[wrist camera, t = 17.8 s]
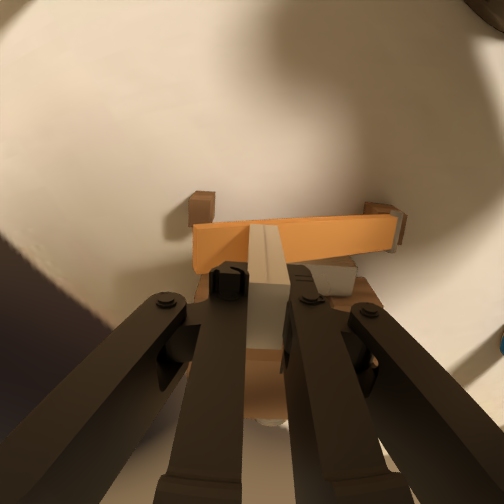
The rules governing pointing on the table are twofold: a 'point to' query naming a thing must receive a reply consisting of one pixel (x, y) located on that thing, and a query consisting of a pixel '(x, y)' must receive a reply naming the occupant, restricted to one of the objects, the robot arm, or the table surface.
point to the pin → (326, 288)
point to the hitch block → (269, 360)
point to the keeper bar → (298, 238)
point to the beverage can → (502, 344)
